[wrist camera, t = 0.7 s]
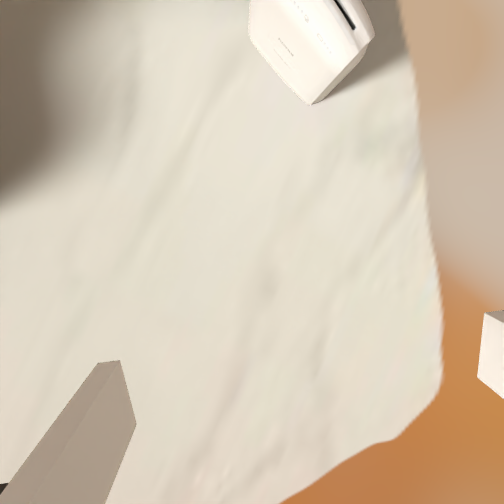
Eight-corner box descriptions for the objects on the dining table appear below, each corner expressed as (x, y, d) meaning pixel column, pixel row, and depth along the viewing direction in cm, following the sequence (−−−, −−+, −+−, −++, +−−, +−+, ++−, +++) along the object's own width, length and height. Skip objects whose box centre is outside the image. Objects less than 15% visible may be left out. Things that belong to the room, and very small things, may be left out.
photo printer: (240, 36, 29) (243, -64, 17) (270, 1, 29) (295, -127, 17) (308, 114, 31) (352, 74, 19) (337, 84, 31) (401, 22, 19)
